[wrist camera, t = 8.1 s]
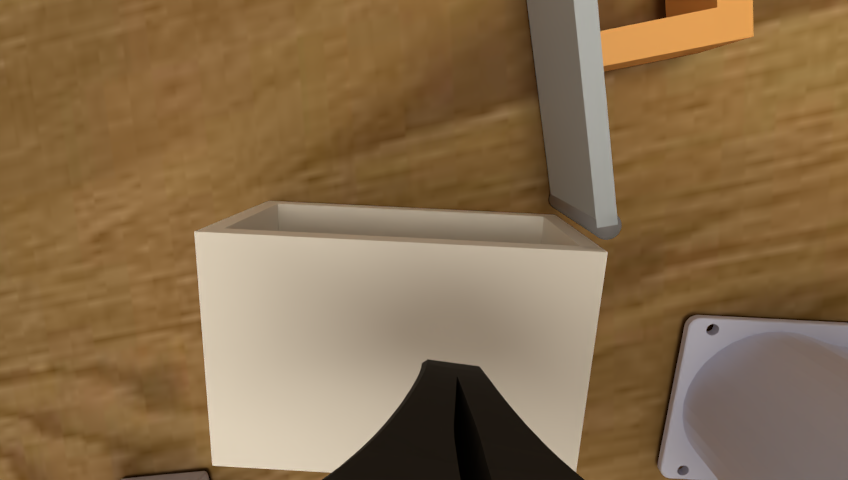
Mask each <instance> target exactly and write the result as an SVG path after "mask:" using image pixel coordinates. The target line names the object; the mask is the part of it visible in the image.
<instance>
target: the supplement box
mask: <svg viewBox="0 0 848 480" xmlns="http://www.w3.org/2000/svg"><path fill="white" fill-rule="evenodd" d="M121 480H209V476H208V473H207V472H206V471H196V472H185V473H173V474H162V475H152V476H143V477H132V478H123V479H121Z"/></svg>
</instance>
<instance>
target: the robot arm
mask: <svg viewBox="0 0 848 480" xmlns="http://www.w3.org/2000/svg"><path fill="white" fill-rule="evenodd" d="M711 324H713V328H712V329H711V330H710V331H707V332H706V329H707V327H708V326H709V325H711ZM680 466H683V467H682V468H681V469H678V468H679V467H680ZM658 469H659V470H660V472H661V473H662V475H663V476H665V477H667V478H675V479H692V480H848V323H844V322H825V321H806V320H787V319H767V318H748V317H729V316H710V315H694V316H692V317H690V318H689V319H688V320H687V321H686V323H685V325H684V330H683V335H682V340H681V346H680V351H679V356H678V361H677V366H676V371H675V377H674V382H673V387H672V392H671V397H670V402H669V408H668V413H667V418H666V423H665V428H664V433H663V439H662V444H661V449H660V454H659V459H658ZM322 480H584V479H583V478H582V477H580V476H579V475H578V474H577V473H576V472H575V471H574V470H572V469H571V468H570V467H569V466H568V465H567V464H566V463H564V462H563V461H562V460H561V459H560V458H559V457H558V456H557V455H556V454H555V453H553V452H552V451H551V450H550V449H549V448H548V447H547V446H546V445H545V444H544V443H543V442H542V441H541V440H540V438H539V437H538V436H537V435H536V434H535V433H534V432H533V431H532V430H531V429H530V428H529V427H528V426H527V425H526V424H525V422H524V421H523V420H522V419H521V418H520V417H519V416H518V415H517V413H516V412H515V411H514V410H513V409H512V407H511V406H510V405H509V404H508V403H507V401H506V400H505V399H504V398H503V396H502V395H501V394H500V392H499V391H498V390H497V389H496V387H495V386H494V385H493V383H492V382H491V381H490V379H489V378H488V377H487V375H486V374H485V373H484V371H483V370H482V369H481V368H480V366H474V365H466V364H459V363H451V362H444V361H436V360H429V359H427V360H426V361H424V362H423V363H422V366H421V370H420V372H419V375H418V377H417V379H416V381H415V382H414V384H413V386H412V388H411V389H410V391H409V392H408V394H407V395H406V397H405V398H404V400H403V401H402V403H401V404H400V405H399V407H398V408H397V409H396V410H395V412H394V413H393V414H392V415H391V417H390V418H389V419H388V420H387V422H386V423H385V424H384V425H383V426H382V427H381V429H380V430H379V431H378V432H377V433H376V434H375V435H374V436H373V437H372V438H371V439H370V440H369V441H368V442H367V443H366V444H365V445H364V446H363V447H362V448H361V449H360V450H359V451H357V452H356V453H355V454H354V455H353V456H351V457H350V458H349V459H348V460H347V461H346V462H344V463H343V464H342V465H341V466H340V467H338V468H337V469H336V470H334V471H333V472H332V473H331V474H329V475H328V476H327V477H325V478H324V479H322Z"/></svg>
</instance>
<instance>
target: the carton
mask: <svg viewBox="0 0 848 480" xmlns="http://www.w3.org/2000/svg"><path fill="white" fill-rule="evenodd" d="M194 234H195V247H196V260H197V273H198V286H199V299H200V312H201V325H202V338H203V351H204V364H205V377H206V390H207V402H208V415H209V428H210V441H211V454H212V466H228V467H245V468H262V469H279V470H296V471H313V472H330V473H332V472H333V471H334V470H336V469H337V468H338V467H340V466H341V465H342V464H343V463H344V462H346V461H347V460H348V459H349V458H350V457H351V456H353V455H354V454H355V453H356V452H357V451H359V450H360V449H361V448H362V447H363V446H364V445H365V444H366V443H367V442H368V441H369V440H370V439H371V438H372V437H373V436H374V435H375V434H376V433H377V432H378V431H379V430H380V429H381V427H382V426H383V425H384V424H385V423H386V422H387V420H388V419H389V418H390V417H391V415H392V414H393V413H394V412H395V410H396V409H397V408H398V407H399V405H400V404H401V403H402V401H403V400H404V398H405V397H406V395H407V394H408V392H409V391H410V389H411V388H412V386H413V384H414V382H415V381H416V379H417V377H418V375H419V372H420V370H421V366H422V363H423V362H424V361H426V360H427V359H429V360H436V361H444V362H451V363H459V364H466V365H474V366H480V368H481V369H482V370H483V371H484V373H485V374H486V375H487V377H488V378H489V379H490V381H491V382H492V383H493V385H494V386H495V387H496V389H497V390H498V391H499V392H500V394H501V395H502V396H503V398H504V399H505V400H506V401H507V403H508V404H509V405H510V406H511V407H512V409H513V410H514V411H515V412H516V413H517V415H518V416H519V417H520V418H521V419H522V420H523V421H524V422H525V424H526V425H527V426H528V427H529V428H530V429H531V430H532V431H533V432H534V433H535V434H536V435H537V436H538V437H539V438H540V440H541V441H542V442H543V443H544V444H545V445H546V446H547V447H548V448H549V449H550V450H551V451H552V452H553V453H555V454H556V455H557V456H558V457H559V458H560V459H561V460H562V461H563V462H564V463H566V464H567V465H568V466H569V467H570V468H571V469H572V470H574V471H575V472H576V468H577V462H578V455H579V448H580V441H581V434H582V427H583V420H584V413H585V406H586V399H587V393H588V386H589V379H590V372H591V365H592V358H593V351H594V344H595V337H596V330H597V324H598V317H599V310H600V303H601V296H602V289H603V282H604V275H605V268H606V261H607V254H608V252H607V251H605V250H604V249H603V248H601V247H600V246H598V245H597V244H596V243H594V242H593V241H591V240H590V239H589V238H587V237H586V236H584V235H583V234H582V233H580V232H579V231H577V230H576V229H575V228H573V227H572V226H570V225H569V224H568V223H566V222H565V221H563V220H562V219H561V218H559V217H558V216H556V215H552V214H532V213H511V212H491V211H470V210H449V209H429V208H408V207H388V206H367V205H347V204H326V203H305V202H285V201H267V202H264V203H262V204H260V205H257V206H255V207H252V208H250V209H248V210H245V211H243V212H240V213H238V214H236V215H233V216H231V217H228V218H226V219H223V220H221V221H219V222H216V223H214V224H211V225H209V226H207V227H204V228H202V229H199V230H197V231H195V232H194Z"/></svg>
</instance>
